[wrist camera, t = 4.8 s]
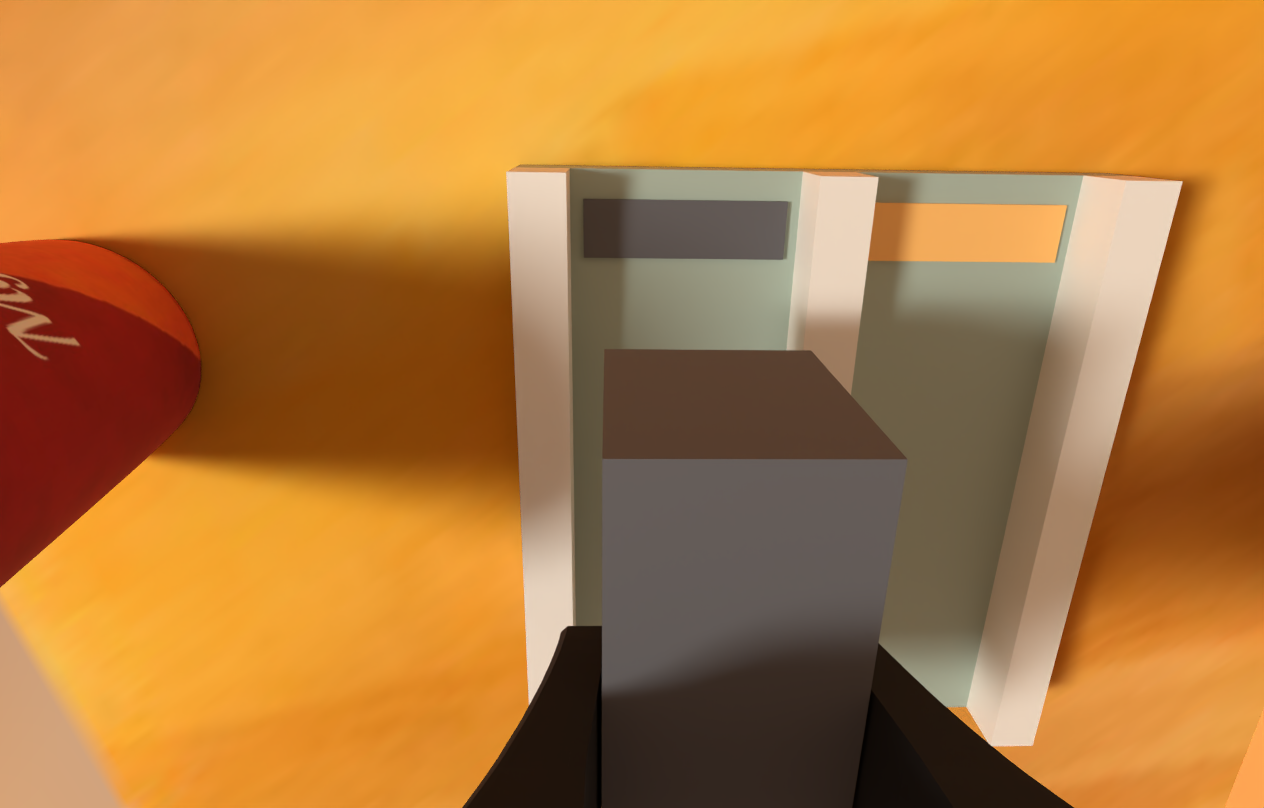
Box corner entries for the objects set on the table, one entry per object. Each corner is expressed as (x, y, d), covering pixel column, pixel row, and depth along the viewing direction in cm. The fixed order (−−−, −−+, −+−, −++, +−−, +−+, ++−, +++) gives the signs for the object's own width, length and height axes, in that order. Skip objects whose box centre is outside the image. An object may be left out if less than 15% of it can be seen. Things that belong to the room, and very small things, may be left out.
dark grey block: (765, 784, 17) (819, 1010, 12) (603, 786, 16) (601, 1015, 12) (811, 350, 13) (907, 459, 9) (604, 348, 13) (602, 459, 9)
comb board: (990, 683, 23) (1032, 745, 21) (538, 686, 23) (530, 751, 20) (1108, 173, 18) (1182, 180, 16) (520, 165, 17) (506, 171, 15)
